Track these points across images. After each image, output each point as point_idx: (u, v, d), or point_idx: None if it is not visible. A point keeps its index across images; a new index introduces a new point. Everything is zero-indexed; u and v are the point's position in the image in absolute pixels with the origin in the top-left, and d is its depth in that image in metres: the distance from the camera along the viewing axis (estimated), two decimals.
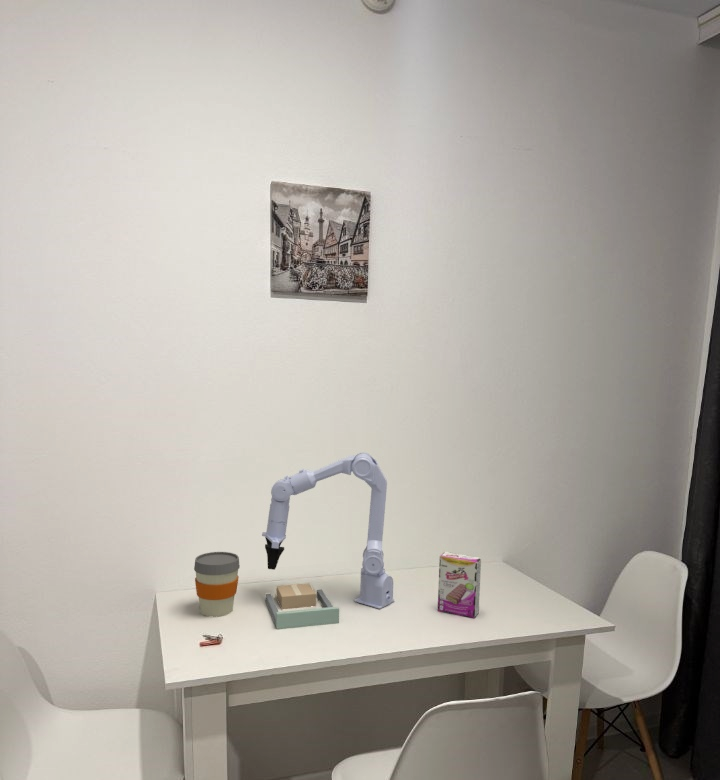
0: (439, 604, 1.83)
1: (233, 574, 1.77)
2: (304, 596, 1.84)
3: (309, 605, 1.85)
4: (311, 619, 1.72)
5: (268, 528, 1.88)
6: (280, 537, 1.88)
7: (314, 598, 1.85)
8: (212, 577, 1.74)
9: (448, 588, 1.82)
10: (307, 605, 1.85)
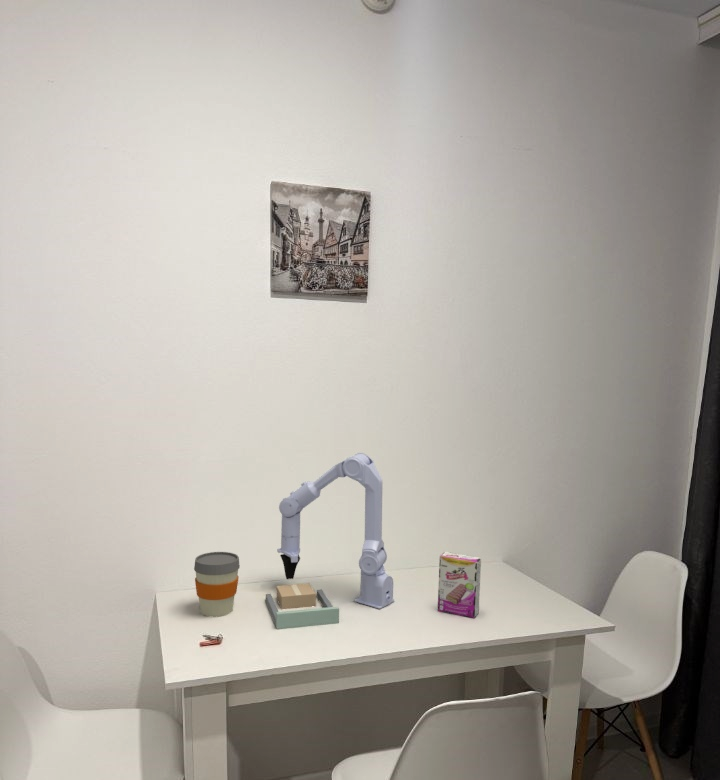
0: (439, 604, 1.83)
1: (233, 574, 1.77)
2: (304, 596, 1.84)
3: (309, 605, 1.85)
4: (311, 619, 1.72)
5: (283, 544, 1.95)
6: (296, 551, 1.95)
7: (314, 598, 1.85)
8: (212, 577, 1.74)
9: (448, 588, 1.82)
10: (307, 605, 1.85)
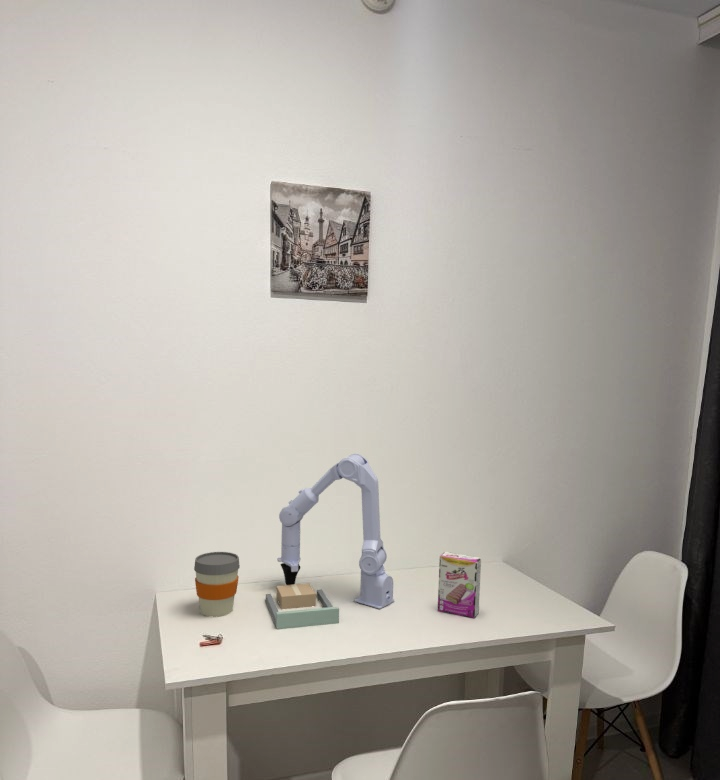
0: (439, 604, 1.83)
1: (233, 574, 1.77)
2: (303, 596, 1.84)
3: (309, 605, 1.85)
4: (311, 619, 1.72)
5: (283, 553, 1.95)
6: (296, 560, 1.95)
7: (314, 598, 1.85)
8: (212, 577, 1.74)
9: (448, 588, 1.82)
10: (307, 605, 1.85)
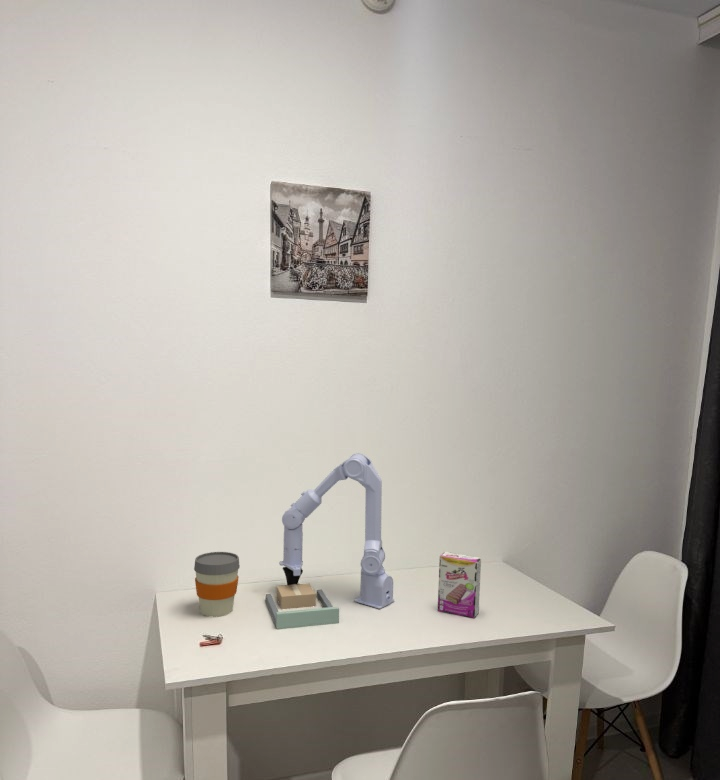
0: (439, 604, 1.83)
1: (233, 574, 1.77)
2: (303, 596, 1.84)
3: (309, 605, 1.85)
4: (311, 619, 1.72)
5: (285, 557, 1.91)
6: (298, 563, 1.91)
7: (314, 598, 1.85)
8: (212, 577, 1.74)
9: (448, 588, 1.82)
10: (307, 605, 1.85)
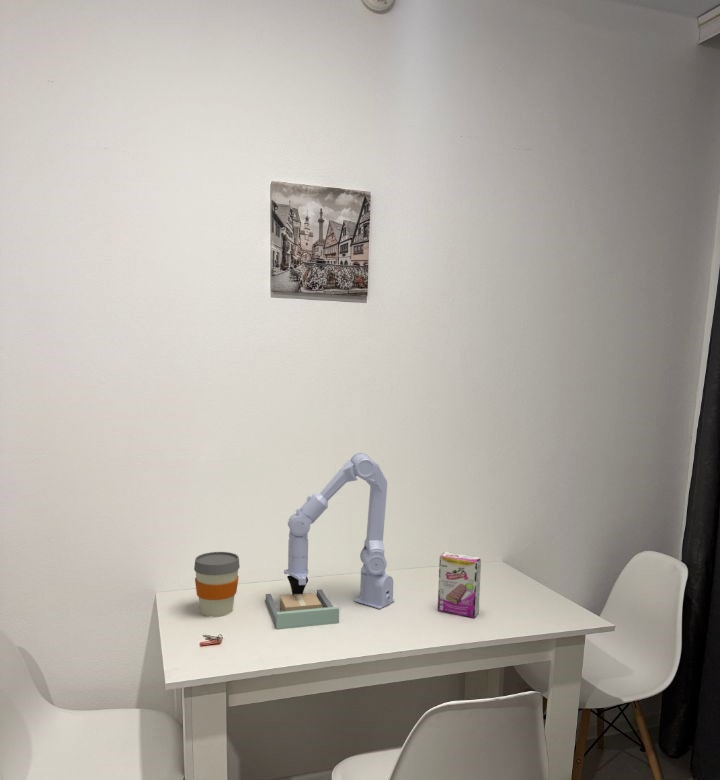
0: (439, 604, 1.83)
1: (233, 574, 1.77)
2: (308, 607, 1.77)
3: None
4: (311, 619, 1.72)
5: (290, 565, 1.84)
6: (304, 572, 1.84)
7: None
8: (212, 577, 1.74)
9: (448, 588, 1.82)
10: None
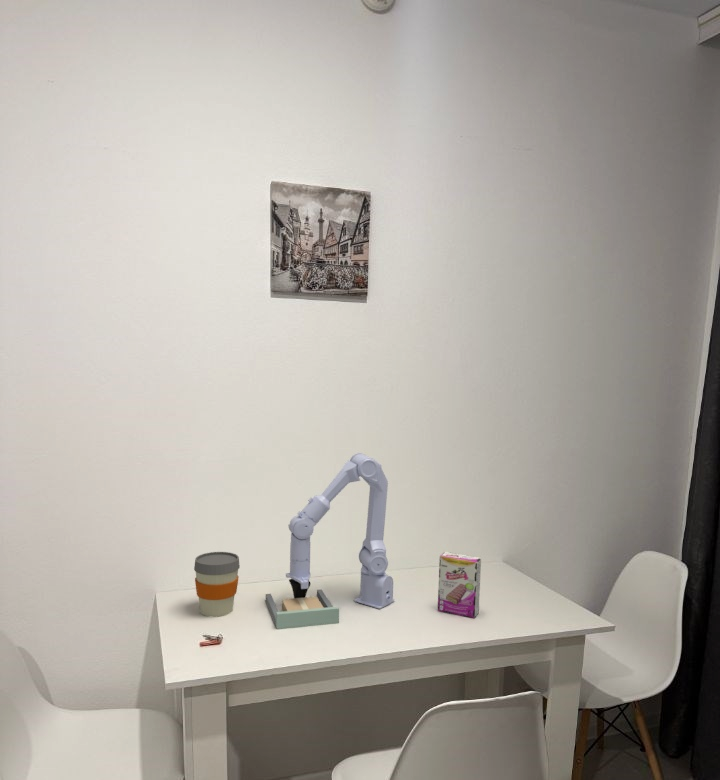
0: (439, 604, 1.83)
1: (233, 574, 1.77)
2: None
3: None
4: (311, 619, 1.72)
5: (292, 568, 1.81)
6: (306, 576, 1.81)
7: None
8: (212, 577, 1.74)
9: (448, 588, 1.82)
10: None
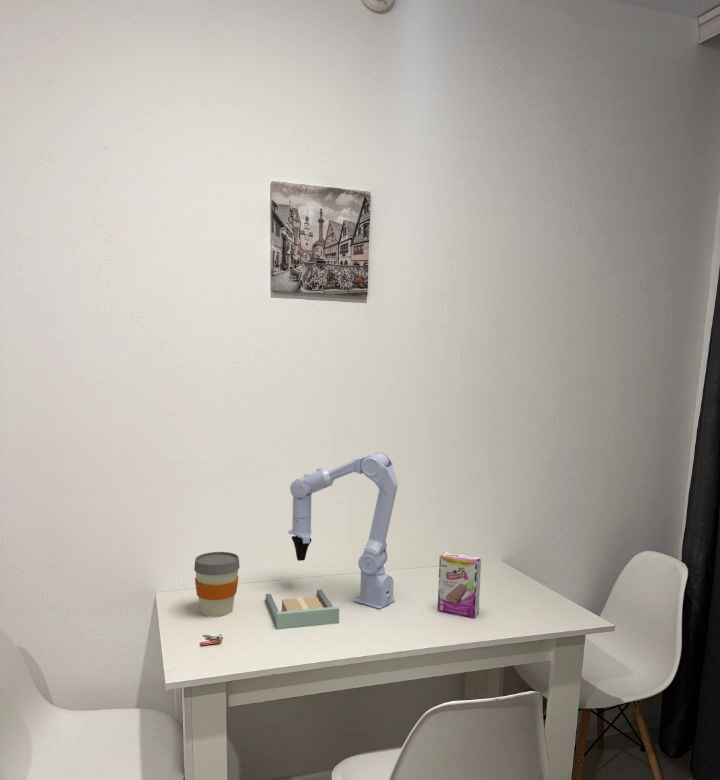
0: (439, 604, 1.83)
1: (233, 574, 1.77)
2: None
3: None
4: (311, 619, 1.72)
5: (294, 525, 1.95)
6: (307, 532, 1.95)
7: None
8: (212, 577, 1.74)
9: (448, 588, 1.82)
10: None
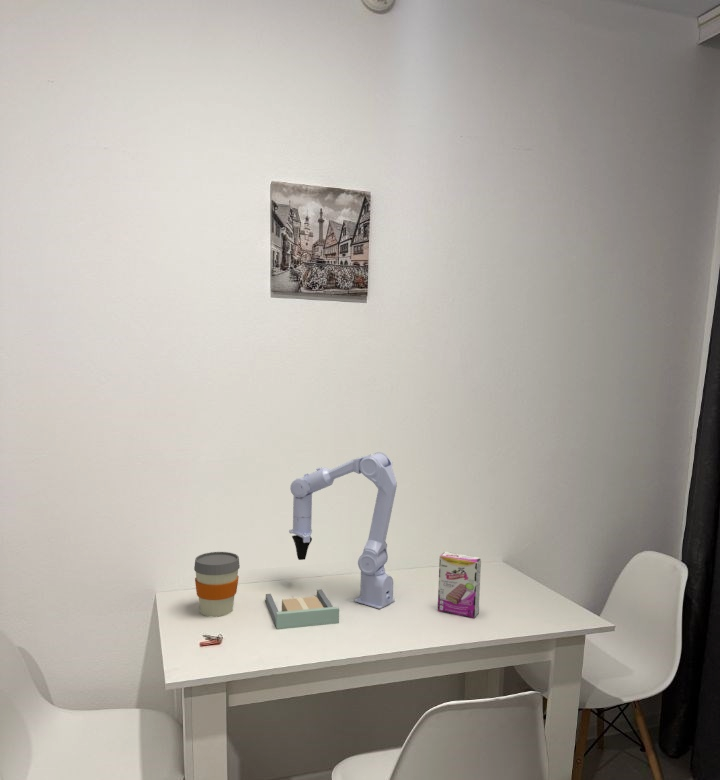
0: (439, 604, 1.83)
1: (233, 574, 1.77)
2: None
3: None
4: (311, 619, 1.72)
5: (295, 525, 1.96)
6: (308, 531, 1.96)
7: None
8: (212, 577, 1.74)
9: (448, 588, 1.82)
10: None
